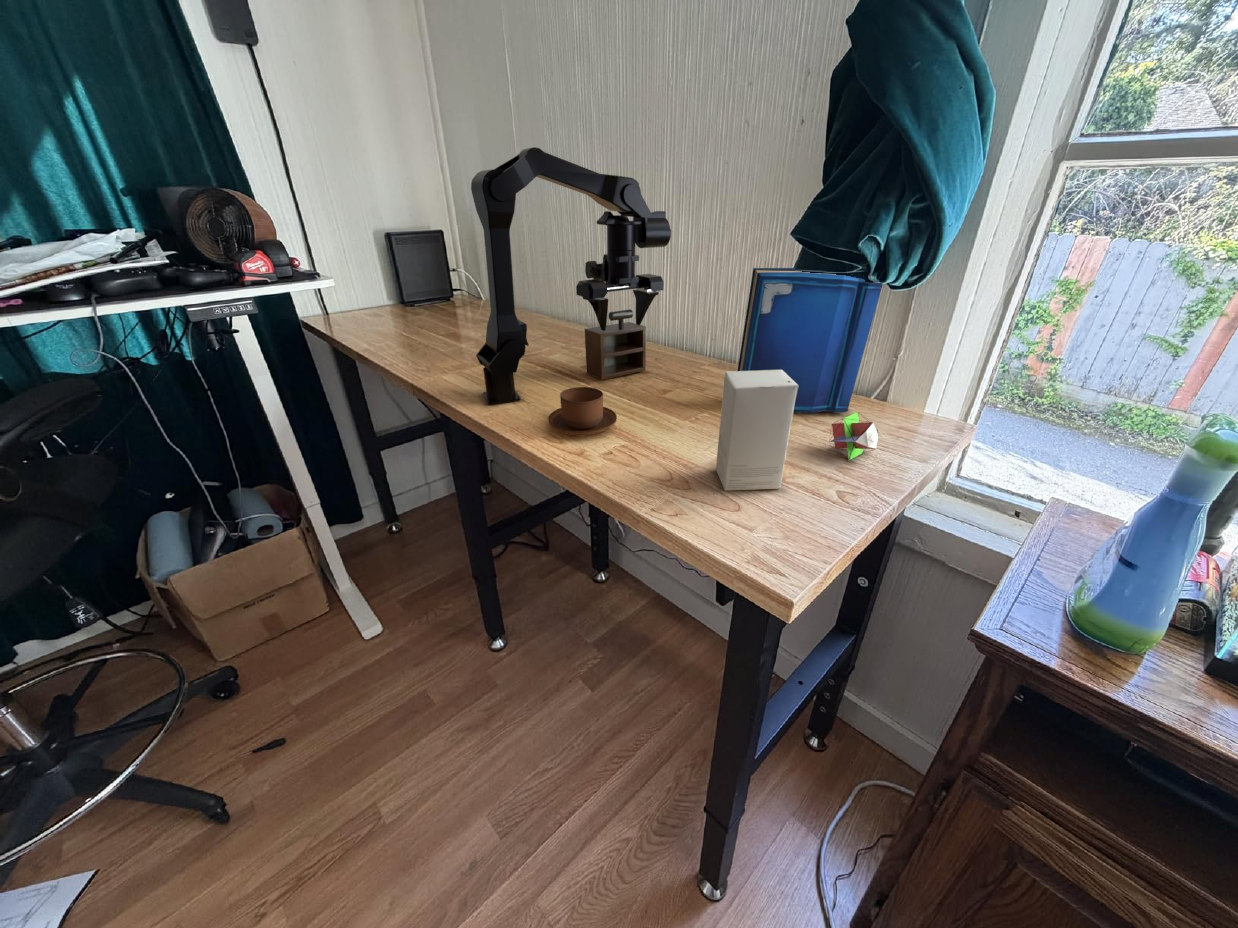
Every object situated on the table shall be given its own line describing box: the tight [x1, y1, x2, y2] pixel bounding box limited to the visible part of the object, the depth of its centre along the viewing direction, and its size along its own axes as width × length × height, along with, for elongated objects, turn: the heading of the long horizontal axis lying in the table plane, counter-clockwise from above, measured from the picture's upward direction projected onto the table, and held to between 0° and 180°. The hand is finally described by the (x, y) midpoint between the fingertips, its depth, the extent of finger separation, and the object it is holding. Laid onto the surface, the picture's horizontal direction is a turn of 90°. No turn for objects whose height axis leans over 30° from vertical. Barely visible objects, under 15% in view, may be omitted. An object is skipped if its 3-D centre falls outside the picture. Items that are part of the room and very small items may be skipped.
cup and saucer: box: [547, 386, 618, 437], centre depth 86 cm, size 12×12×6 cm
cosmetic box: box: [715, 370, 799, 492], centre depth 68 cm, size 8×7×16 cm
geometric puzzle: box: [828, 410, 880, 461], centre depth 77 cm, size 7×7×8 cm
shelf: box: [584, 308, 647, 381], centre depth 110 cm, size 14×12×6 cm
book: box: [737, 267, 884, 415], centre depth 89 cm, size 22×7×25 cm, turn 84°
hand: (621, 327), depth 107 cm, fingers open, 9 cm apart
